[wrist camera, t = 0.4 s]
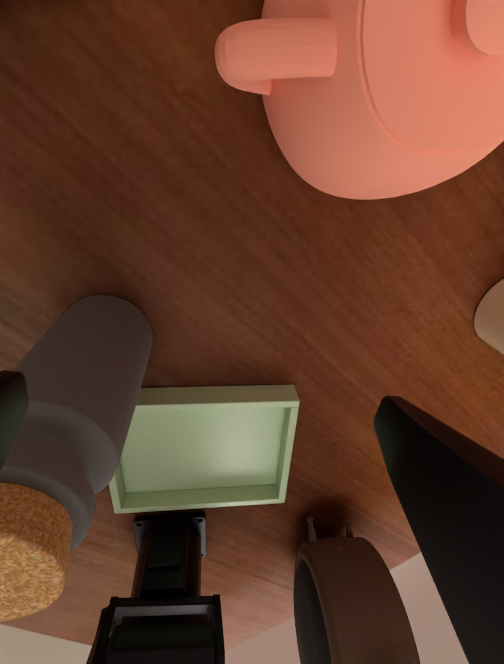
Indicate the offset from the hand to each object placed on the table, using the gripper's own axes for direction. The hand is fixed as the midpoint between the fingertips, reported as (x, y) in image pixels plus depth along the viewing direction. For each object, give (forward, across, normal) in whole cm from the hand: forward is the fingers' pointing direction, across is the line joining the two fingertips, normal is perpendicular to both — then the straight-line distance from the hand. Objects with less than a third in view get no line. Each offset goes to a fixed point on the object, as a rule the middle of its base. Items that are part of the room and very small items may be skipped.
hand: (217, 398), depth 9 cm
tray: (+14, -1, +16) cm, 21 cm away
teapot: (+14, -8, -11) cm, 20 cm away
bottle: (+14, +6, +6) cm, 17 cm away
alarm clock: (+14, -14, +29) cm, 36 cm away
